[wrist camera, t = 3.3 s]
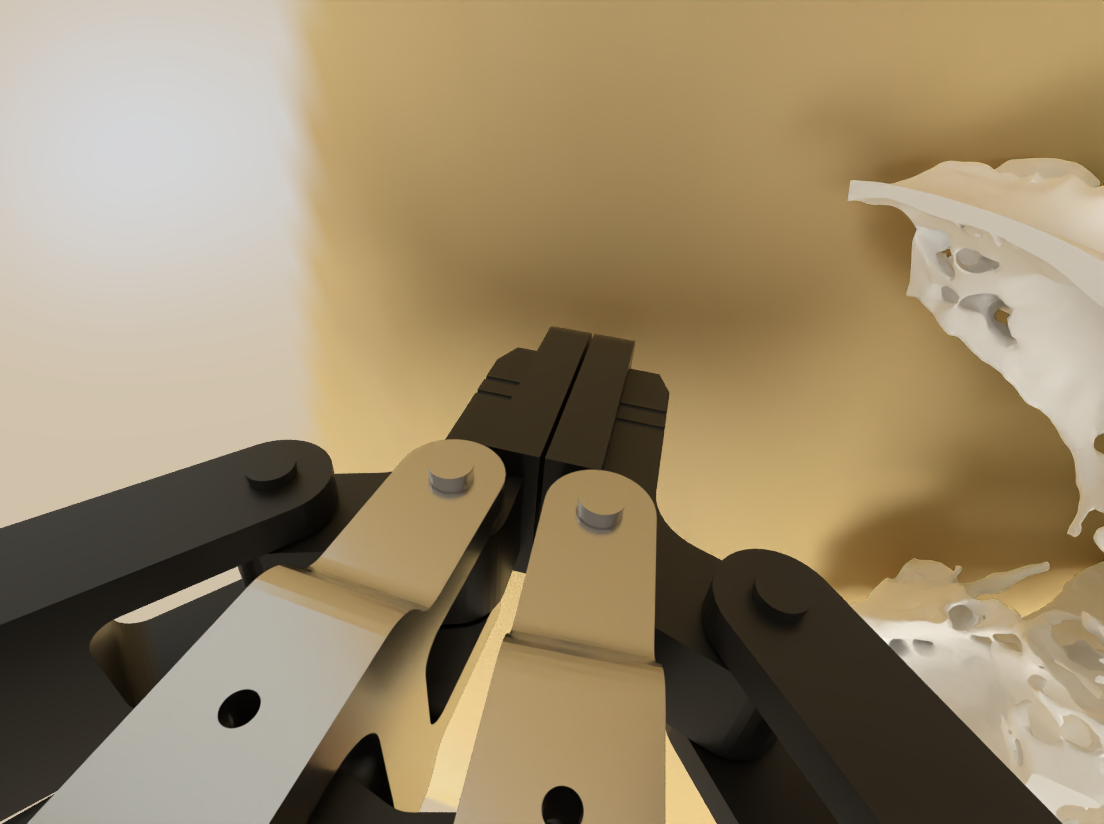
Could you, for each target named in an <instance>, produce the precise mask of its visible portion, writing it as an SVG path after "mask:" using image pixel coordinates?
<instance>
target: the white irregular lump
mask: <svg viewBox="0 0 1104 824" xmlns="http://www.w3.org/2000/svg"><path fill="white" fill-rule="evenodd" d="M1099 185H1100V181H1099V180H1098V179H1097V178H1096V177H1095V176H1094V175H1093V174H1092V173H1091V172H1090V171H1089V170H1087V169H1086V168H1085V167H1083V166H1082V165H1080V164H1079V163H1076V162H1071V161H1066V160H1062V159H1058V158H1026V159H1012V160H1008V161H1006V162H1005V163H1004V164H1002V165H1001V166H999V167H998V168H996V169H993V168H992V167H990V166H989V165H987V164H983V163H979V162H960V161H945V162H941V163H939V164H938V165H936V166H935V167H933V168H931V169H929V170H926V171H924V172H922V173H920V174H919V175H916V176H914V177H912V178H909V179H906V180H902V181H898V182H895V183H891V184H886V183H881V182H872V181H858V180H850V187H849V194H848V201H853V200H857V201H862V202H864V203H866V204H869V205H889V206H894V207H896V208H898V209H900V210H902V211H903V212H904V213H905V214H906V215H907V216H908V217H909V218H910V219H911V221H912V222H913V224H914V225H915V228H916V229H917V231H916V233H915V236H914V238H913V242H912V256H911V271H910V281H909V286H908V289H907V293H906V296H910V297H916V298H918V299H919V300H920V301H921V303H922V304H923V305H924V306H925V307H926V308H927V309H928V310H929V311H930V312H931V313H932V314H934V317H935V319H936V320H937V322H938V324H939V325H940V326H941V327H942V329H943V330H944V331H945V332H946V333H947V334H948V335H953V336H956V337H958V338H959V339H960V340H961V341H963V342H964V344H965V345H966V346H967V347H968V348H969V349H970V350H971V351H972V352H973V353H974V354H975V355H976V356H978V357H979V358H980V359H981V360H982V361H983V362H985V363H987V364H989V365H991V366H992V367H994V368H995V369H996V370H997V371H999V372H1000V373H1001V374H1002V375H1003V377H1004V378H1005V379H1006V380H1007V381H1008V382H1009V383H1010V384H1012V385H1013V386H1014V388H1015V389H1016V390H1017V391H1018V393H1019V394H1020V396H1021V397H1022V398H1023V400H1024V401H1025V402H1026V403H1027V404H1029V405H1031V406H1033V407H1035V408H1037V409H1039V410H1040V411H1042V412H1043V413H1044V414H1045V415H1046V416H1048V417H1049V419H1050V420H1051V422H1052V424H1053V425H1054V426H1055V427H1056V429H1057V431H1058V433H1059V435H1060V437H1061V439H1062V440H1063V442H1064V443H1065V444H1066V445H1067V446H1068V448H1069V449H1070V451H1071V453H1072V456H1073V459H1074V462H1075V470H1076V481H1075V482H1076V485H1077V487H1078V489H1079V493H1080V501H1079V504H1078V512H1077V514H1076V516H1075V518H1074V520H1073V522H1072V523H1071V525H1070V526H1069V529H1068V531H1067V534H1070V535H1071V536H1073V537H1077V536H1078V535H1079V534H1080V533H1081V530H1082V527H1081V523H1082V522H1083V520H1084V518H1085V517H1086V516H1087V514H1088V512H1089V511H1092V510H1095V509H1096V510H1098V511H1100V512H1104V454H1102V453H1100V452H1098V451H1096V450H1095V449H1094V440H1095V438H1096V437H1097V436H1098V435H1100V434H1103V433H1104V186H1099ZM1098 186H1099V187H1098ZM947 249H950V252H951V253H952V255H951V256H950V257H947V253H939V252H942V251H944V250H947ZM997 310H1002V311H1004V312H1006V313H1008V314H1010V315H1009V317H1007V321H1008V325H1007V324H1005V323H1001V322H999V321H997V320H996V319H995V317H994V315H995V313H996V311H997ZM1093 539H1094V542H1095V543H1096V544H1097V546H1098V547H1099V548H1100V549H1101V550H1102V551H1103V552H1104V526H1103V527H1100V528H1098V529H1097V530H1096V532H1095V534H1094V538H1093ZM962 568H963V567H961V566H959V565H958V566H955V569H954V571H953V570H952V569H950V568H949V567H947V566H945V565H944V564H943V563H941V562H937V561H932V560H919V559H916V558H915V557H914V558H913V559H911V560H910V561H908V562H907V563H906V564H905V565H904V566H903V567H902V569H901V570H900V572H899V573H898V575H897V576H896V577H895V578H894V579H890V578H885V579H884V580H883V581H882V582H881V583H880V584H879V585H878V586H876V587H875V588H874V589H873V591H872V592H871V593H870V595H869V596H868V597H867V598H866V599H865V600H863V601H860V602H854V603H851V604H850V606H851V607H852V608H853V609H854V610H855V611H856V612H857V614H858V615H859V616H860V617H861V618H862V619H863V620H864V621H865V622H866V623H867V624H868V625H869V626H870V627H871V628H872V629H873V630H874V631H875V632H876V633H877V634H878V635H879V636H880V637H881V638H882V639H883V640H884V641H885V642H886V643H887V644H888V645H889V646H890V647H891V648H892V649H893V650H894V651H895V652H896V653H897V654H898V656H899V657H900V658H901V659H902V660H903V661H904V662H905V663H906V664H907V665H908V666H909V667H910V668H911V669H912V670H913V671H914V672H915V673H916V674H917V675H918V676H919V677H920V678H921V679H922V680H923V681H924V682H925V683H926V684H927V685H928V686H929V687H930V688H931V689H932V690H933V691H934V692H935V693H936V694H937V695H938V696H939V698H940V699H941V700H942V701H943V702H944V703H945V704H946V705H947V706H948V707H949V708H950V709H951V710H952V711H953V712H954V713H955V714H956V715H957V716H958V717H959V718H960V719H961V720H962V721H963V722H964V723H965V724H966V725H967V726H968V727H969V728H970V729H971V730H972V731H973V732H974V733H975V734H976V735H977V736H978V737H979V738H980V740H981V741H982V742H983V743H984V744H985V745H986V746H987V747H988V748H989V749H990V750H991V751H992V752H993V753H994V754H995V755H996V756H997V757H998V758H999V759H1000V760H1001V761H1002V762H1003V763H1004V764H1005V765H1006V766H1007V767H1008V768H1009V769H1010V770H1011V771H1012V772H1013V773H1014V774H1015V775H1016V776H1017V777H1018V778H1019V779H1020V780H1021V782H1022V783H1023V784H1024V785H1025V786H1026V787H1027V788H1028V789H1029V790H1030V791H1031V792H1032V793H1033V794H1034V795H1035V796H1036V797H1037V798H1038V799H1039V800H1040V801H1041V802H1042V803H1043V804H1044V805H1045V806H1046V807H1047V808H1048V809H1049V810H1050V811H1051V812H1052V813H1053V814H1054V815H1055V816H1056V817H1057V818H1058V819H1059V820H1060V821H1061V822H1062V824H1104V561H1102V562H1099V563H1097V564H1095V565H1093V566H1090V567H1087V568H1085V569H1083V570H1081V571H1080V572H1079V573H1077V574H1075V575H1074V577H1073V578H1072V579H1070V580H1069V581H1068V582H1067V583H1066V584H1065V585H1064V587H1063V589H1062V591H1061V592H1060V593H1059V594H1058V596H1056V598H1055V599H1054V600H1053V601H1051V602H1050V603H1048V604H1047V605H1046V606H1044V607H1043V608H1041V609H1040V610H1038V611H1035V612H1033V613H1031V614H1029V615H1027V616H1025V617H1023V618H1022V617H1021V615H1020V614H1019V613H1018V612H1017V611H1016V610H1014V609H1012V608H1010V607H1008V606H1007V605H1005V604H1004V603H1003V602H1001V601H998V600H996V599H988V600H978V599H975V598H976V597H977V596H980V595H988V594H997V593H1000V592H1003V591H1005V590H1007V589H1009V588H1010V587H1011V586H1012V585H1014V584H1015V583H1017V582H1018V581H1020V580H1022V579H1023V578H1025V577H1027V576H1030V575H1034V574H1038V573H1044V572H1046V571H1048V570H1049V569H1050V565H1049V563H1048V562H1042V563H1040V564H1030V565H1025V566H1022V567H1019V568H1016V569H1013V570H1010V571H1006V572H997V573H990V574H989V575H987V576H986V577H984V578H982V579H980V580H977V581H974V582H970V583H959V582H958V580H957V576H958V575H959V573H960V572H961V571H962Z"/></svg>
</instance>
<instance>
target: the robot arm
mask: <svg viewBox="0 0 1104 824" xmlns="http://www.w3.org/2000/svg"><path fill="white" fill-rule="evenodd" d="M634 347H635V341H631V340H625V339H620V338H614V337H609V336H603V335H598V334H594V336H593V338H592V333H586V332H581V331H575V330H570V329H565V328H559V327H554V326H551V327H550V329H549V331H548V332H547V334H546V336H545V338H544V340H543V342H542V343H541V345H540V347H539V349H538V351H533V350H528V349H523V348H516V349H514V350H513V351H511V352H509V353H508V354H506V355H504V356H502V357H501V358H499V359H497V361H496V362H495V364H494V365H493V367H492V368H491V370H490V372H489V373H488V375H487V377H486V379H484V381H483V382H482V384H481V385H480V387H479V388H478V392H477V393H475V395H474V396H473V398H472V399H471V401H470V402H469V404H468V405H467V407H466V408H465V410H464V412H463V413H462V415H461V416H460V418H459V419H458V421H457V422H456V424H455V425H454V427H453V428H452V430H451V432H450V433H449V435H448V436H447V438H446V439H445V440H440V441H435V442H431V443H428V444H425V445H423V446H421V447H419V448H417V449H415V450H413V451H412V452H411V453H409V454H408V455H407V456H406V457H405V458H404V459H403V460H402V461H401V462H400V464H399V465H398V466H397V467H396V468H395V469H394V471H393V472H386V473H353V474H334V470H333V465H332V460H331V458H330V456H329V455H328V454H327V453H326V451H325V450H323V449H322V448H320V447H319V446H317V445H315V444H312V443H309V442H305V441H299V440H277V441H271V442H266V443H262V444H258V445H255V446H252V447H249V448H246V449H243V450H240V451H237V452H233V453H231V454H227V455H225V456H221V457H218V458H215V459H212V460H209V461H206V462H203V463H200V464H197V465H194V466H191V467H188V468H184V469H181V470H178V471H175V472H172V473H169V474H166V475H163V476H160V477H157V478H154V479H151V480H148V481H145V482H141V483H139V484H135V485H132V486H129V487H126V488H123V489H120V490H117V491H114V492H111V493H108V494H105V495H102V496H99V497H95V498H93V499H89V500H86V501H83V502H81V503H77V504H74V505H71V506H68V507H65V508H62V509H59V510H56V511H53V512H49V513H46V514H43V515H40V516H37V517H34V518H31V519H28V520H25V521H22V522H19V523H16V524H13V525H10V526H6V527H4V528H0V821H2V820H4V819H6V818H8V817H10V816H11V815H13V814H15V813H17V812H19V811H21V810H23V809H24V808H26V807H28V806H30V805H32V804H34V803H35V802H37V801H39V800H41V799H43V798H45V797H47V796H49V795H50V794H52V793H54V792H56V791H57V792H56V793H55V794H53V795H52V796H50V797H48V798H47V799H45V800H43V801H41V802H39V803H38V804H36V805H34V806H32V807H31V808H29V809H27V810H25V811H24V812H22V813H20V814H18V815H16V816H15V817H13V818H11V819H9V820H8V821H6V822H4V823H2V824H665V729H666V732H667V735H668V738H669V740H670V742H671V744H672V746H673V748H674V749H675V751H676V753H677V755H678V756H679V758H680V760H681V762H682V763H683V765H684V767H685V769H686V770H687V772H688V774H689V776H690V777H691V779H692V781H693V783H694V784H695V786H696V788H697V790H698V791H699V793H700V795H701V797H702V798H703V800H704V802H705V804H706V805H707V807H708V809H709V811H710V812H711V814H712V816H713V818H714V819H715V821H716V823H717V824H1062V822H1061V821H1060V820H1059V819H1058V818H1057V817H1056V816H1055V815H1054V814H1053V813H1052V812H1051V811H1050V810H1049V809H1048V808H1047V807H1046V806H1045V805H1044V804H1043V803H1042V802H1041V801H1040V800H1039V799H1038V798H1037V797H1036V796H1035V795H1034V794H1033V793H1032V792H1031V791H1030V790H1029V789H1028V788H1027V787H1026V786H1025V785H1024V784H1023V783H1022V782H1021V780H1020V779H1019V778H1018V777H1017V776H1016V775H1015V774H1014V773H1013V772H1012V771H1011V770H1010V769H1009V768H1008V767H1007V766H1006V765H1005V764H1004V763H1003V762H1002V761H1001V760H1000V759H999V758H998V757H997V756H996V755H995V754H994V753H993V752H992V751H991V750H990V749H989V748H988V747H987V746H986V745H985V744H984V743H983V742H982V741H981V740H980V738H979V737H978V736H977V735H976V734H975V733H974V732H973V731H972V730H971V729H970V728H969V727H968V726H967V725H966V724H965V723H964V722H963V721H962V720H961V719H960V718H959V717H958V716H957V715H956V714H955V713H954V712H953V711H952V710H951V709H950V708H949V707H948V706H947V705H946V704H945V703H944V702H943V701H942V700H941V699H940V698H939V696H938V695H937V694H936V693H935V692H934V691H933V690H932V689H931V688H930V687H929V686H928V685H927V684H926V683H925V682H924V681H923V680H922V679H921V678H920V677H919V676H918V675H917V674H916V673H915V672H914V671H913V670H912V669H911V668H910V667H909V666H908V665H907V664H906V663H905V662H904V661H903V660H902V659H901V658H900V657H899V656H898V654H897V653H896V652H895V651H894V650H893V649H892V648H891V647H890V646H889V645H888V644H887V643H886V642H885V641H884V640H883V639H882V638H881V637H880V636H879V635H878V634H877V633H876V632H875V631H874V630H873V629H872V628H871V627H870V626H869V625H868V624H867V623H866V622H865V621H864V620H863V619H862V618H861V617H860V616H859V615H858V614H857V612H856V611H855V610H854V609H853V608H852V607H851V606H850V605H849V604H848V603H847V602H846V601H845V600H844V599H843V598H842V597H841V596H840V595H839V594H838V593H837V592H836V591H835V590H834V589H833V588H832V587H831V586H830V585H829V584H828V583H827V582H826V581H825V580H824V579H823V578H822V577H821V576H820V575H819V574H818V573H817V572H815V571H814V570H812V569H811V568H810V567H808V566H807V565H805V564H803V563H802V562H800V561H798V560H796V559H794V558H792V557H790V556H787V555H785V554H782V553H779V552H775V551H770V550H765V549H747V550H742V551H738V552H735V553H733V554H731V555H729V556H727V557H726V558H725V559H723V560H720V559H718V558H716V557H714V556H712V555H710V554H708V553H706V552H704V551H702V550H700V549H698V548H697V547H695V546H693V545H691V544H690V543H688V542H686V541H685V540H684V539H682V538H681V537H680V536H678V535H677V534H676V533H675V532H674V531H673V530H672V529H671V528H670V527H669V526H668V524H667V523H666V522H665V521H664V519H663V517H662V516H661V514H660V512H659V509H658V507H657V502H656V489H657V482H658V474H659V467H660V459H661V452H662V444H663V437H664V429H665V422H666V413H667V407H668V400H669V391H668V389H667V388H666V386H665V384H664V382H663V380H662V378H661V376H660V375H659V374H655V373H649V372H644V371H639V370H634V369H631V363H632V358H633V353H634ZM237 566H238V569H239V571H240V574H241V576H242V579H241V580H238V581H236V582H234V583H232V584H230V585H227V586H225V587H222V588H220V589H218V590H216V591H213V592H211V593H209V594H207V595H204V596H202V597H200V598H197V599H195V600H193V601H191V602H188V603H186V604H184V605H182V606H179V607H177V608H175V609H173V610H170V611H168V612H166V613H163V614H161V615H159V616H157V617H154V618H152V619H149V620H147V621H143V622H140V623H132V624H124V623H119V622H116V621H114V619H116V618H118V617H120V616H122V615H125V614H127V613H129V612H132V611H134V610H136V609H139V608H141V607H143V606H146V605H148V604H150V603H153V602H155V601H157V600H160V599H162V598H164V597H167V596H169V595H172V594H174V593H176V592H178V591H181V590H183V589H186V588H188V587H190V586H192V585H195V584H197V583H200V582H202V581H204V580H207V579H209V578H211V577H214V576H216V575H218V574H221V573H223V572H225V571H227V570H230V569H232V568H235V567H237ZM512 570H514V571H518V572H522V573H526V576H525V580H524V584H523V588H522V592H521V596H520V600H519V604H518V608H517V612H516V616H515V619H514V623H513V627H512V630H511V632H510V633H507V634H506V635H505V637H504V639H503V642H502V644H501V647H500V651H499V654H498V657H497V661H496V664H495V668H494V672H493V676H492V680H491V683H490V687H489V691H488V695H487V699H486V702H485V706H484V710H483V714H482V718H481V721H480V725H479V729H478V733H477V737H476V741H475V744H474V748H473V752H472V756H471V760H470V763H469V767H468V771H467V775H466V779H465V782H464V786H463V790H462V794H461V798H460V802H459V805H458V809H457V813H456V812H455V813H454V812H450V813H447V812H439V813H438V812H437V813H436V812H419V811H420V808H421V806H422V803H423V801H424V798H425V796H426V793H427V790H428V787H429V784H430V781H431V777H432V774H433V770H434V766H435V761H436V756H437V752H438V749H439V746H440V743H441V740H442V737H443V735H444V732H445V730H446V728H447V726H448V723H449V721H450V719H451V717H452V715H453V713H454V711H455V708H456V706H457V704H458V702H459V700H460V698H461V695H462V693H463V691H464V689H465V687H466V685H467V683H468V680H469V678H470V676H471V674H472V672H473V670H474V668H475V665H476V663H477V661H478V659H479V657H480V655H481V652H482V650H483V648H484V646H485V644H486V642H487V640H488V637H489V635H490V633H491V631H492V629H493V627H494V625H495V622H496V620H497V618H498V615H499V612H500V606H501V598H502V596H503V594H504V592H505V589H506V586H507V584H508V581H509V578H510V576H511V573H512Z"/></svg>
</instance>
